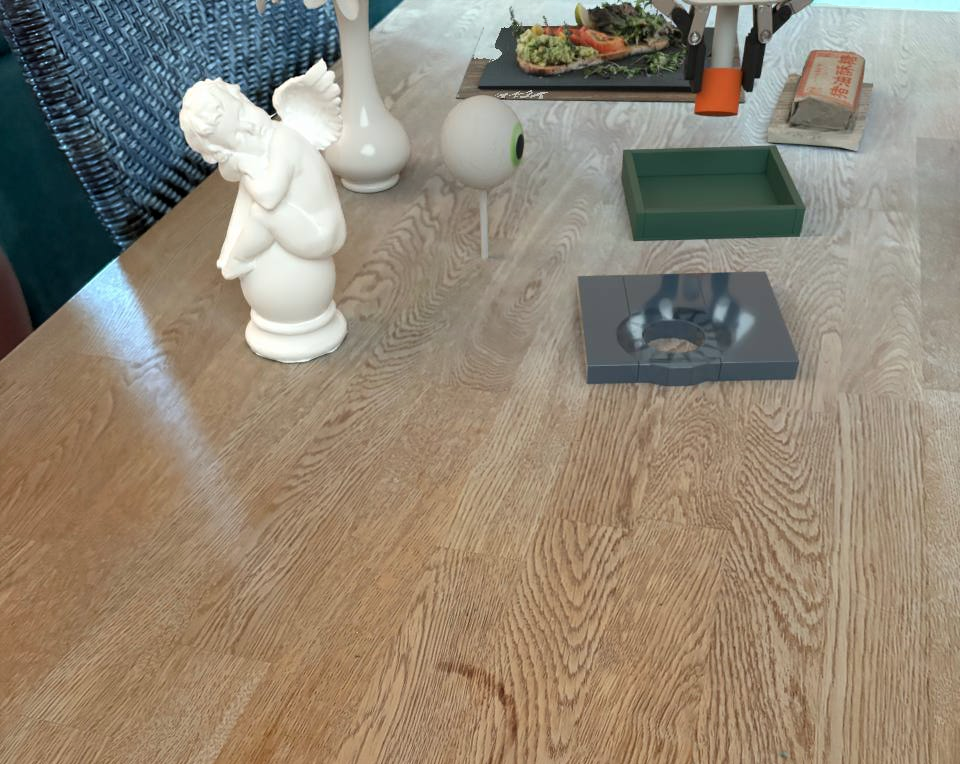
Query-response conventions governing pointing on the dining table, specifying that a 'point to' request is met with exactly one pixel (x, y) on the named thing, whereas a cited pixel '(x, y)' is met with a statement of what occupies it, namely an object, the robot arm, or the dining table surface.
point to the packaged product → (824, 102)
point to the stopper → (721, 69)
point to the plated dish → (591, 58)
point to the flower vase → (361, 109)
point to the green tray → (710, 193)
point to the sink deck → (683, 328)
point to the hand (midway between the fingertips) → (720, 85)
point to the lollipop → (482, 148)
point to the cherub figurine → (278, 207)
